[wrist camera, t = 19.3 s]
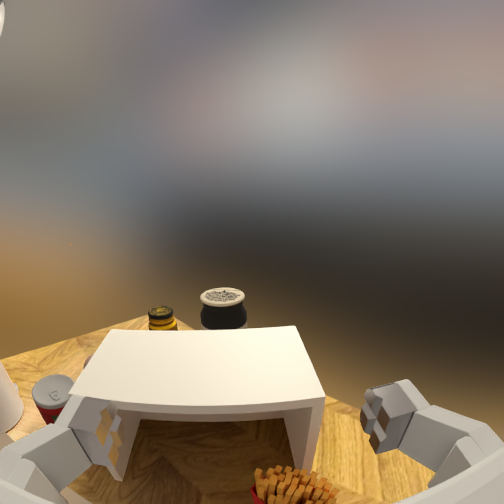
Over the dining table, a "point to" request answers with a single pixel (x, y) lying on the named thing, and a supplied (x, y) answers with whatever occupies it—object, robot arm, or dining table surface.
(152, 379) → the white step stool
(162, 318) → the condiment
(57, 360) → the dining table surface
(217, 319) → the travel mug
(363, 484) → the dining table surface
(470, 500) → the robot arm
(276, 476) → the french fries
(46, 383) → the canned food
